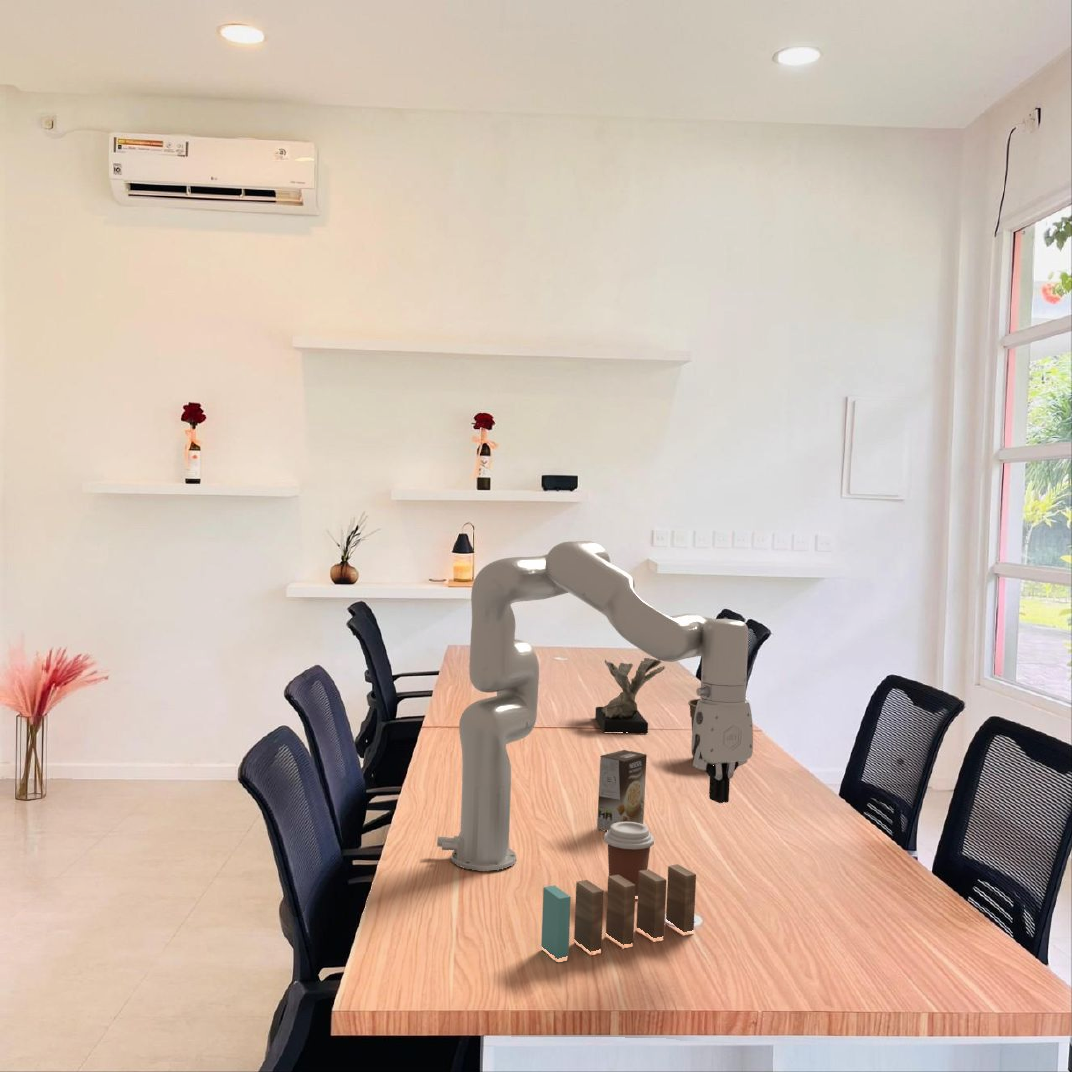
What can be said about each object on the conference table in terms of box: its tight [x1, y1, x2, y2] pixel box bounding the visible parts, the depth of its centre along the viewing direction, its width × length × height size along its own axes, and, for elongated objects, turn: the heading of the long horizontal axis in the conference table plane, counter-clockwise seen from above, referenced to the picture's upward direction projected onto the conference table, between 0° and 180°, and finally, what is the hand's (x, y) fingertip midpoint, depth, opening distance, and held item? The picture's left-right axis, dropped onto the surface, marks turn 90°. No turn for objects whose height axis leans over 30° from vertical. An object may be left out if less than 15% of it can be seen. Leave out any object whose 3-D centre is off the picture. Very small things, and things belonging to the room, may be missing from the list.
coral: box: [594, 657, 666, 734], centre depth 326 cm, size 25×20×22 cm
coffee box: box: [596, 749, 648, 831], centre depth 222 cm, size 9×6×16 cm
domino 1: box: [573, 879, 605, 952], centre depth 162 cm, size 2×5×10 cm, turn 29°
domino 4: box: [665, 864, 697, 932], centre depth 170 cm, size 2×5×10 cm, turn 29°
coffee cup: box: [603, 822, 655, 896], centre depth 185 cm, size 9×9×12 cm
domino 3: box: [635, 868, 667, 938], centre depth 167 cm, size 2×5×10 cm, turn 29°
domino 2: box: [605, 875, 636, 945], centre depth 164 cm, size 2×5×10 cm, turn 29°
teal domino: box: [540, 885, 572, 959], centre depth 159 cm, size 2×5×10 cm, turn 29°
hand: (718, 800), depth 173 cm, fingers closed
